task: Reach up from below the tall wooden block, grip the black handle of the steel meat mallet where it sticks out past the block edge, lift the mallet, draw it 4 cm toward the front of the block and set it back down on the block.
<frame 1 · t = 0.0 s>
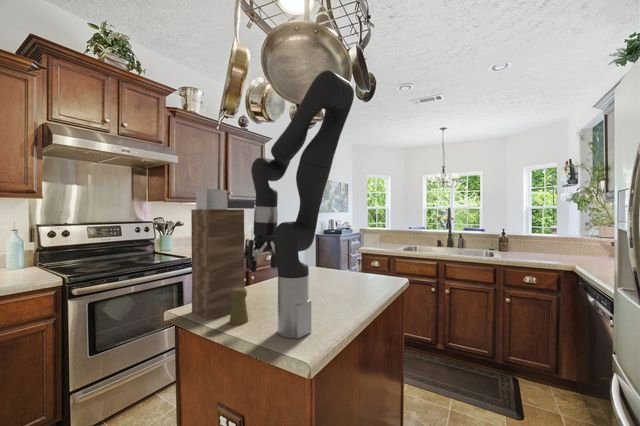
hand: (263, 269, 97), 17 cm above the counter, tool pointing down, fingers open, 8 cm apart
meat mallet: (211, 209, 106), point 37 cm above the counter, touching tall wooden block
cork: (239, 322, 97), on the counter
tall wooden block: (218, 310, 108), on the counter
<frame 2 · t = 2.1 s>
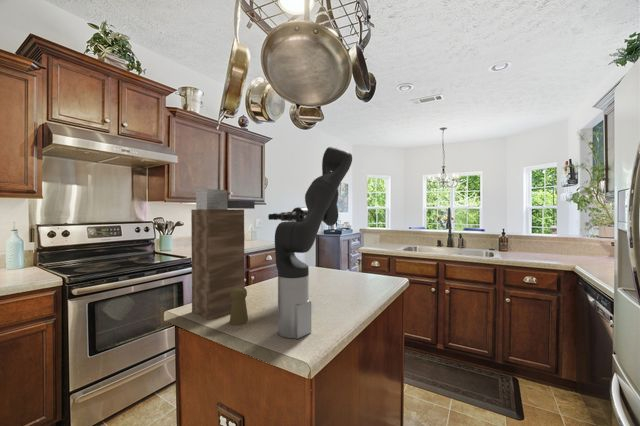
hand: (276, 217, 113), 34 cm above the counter, tool horizontal, fingers open, 8 cm apart
nothing on the counter moved.
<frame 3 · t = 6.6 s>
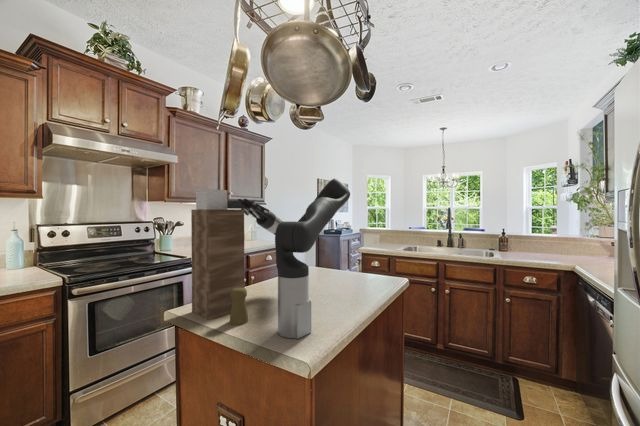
hand: (240, 200, 116), 40 cm above the counter, tool pointing upward, fingers closed on meat mallet, 3 cm apart
meat mallet: (211, 209, 106), point 37 cm above the counter, touching gripper, tall wooden block
everything else where it was.
when the fingers open (41 cm above the counter, at t = 10.0 s): meat mallet stays where it is, resting on tall wooden block.
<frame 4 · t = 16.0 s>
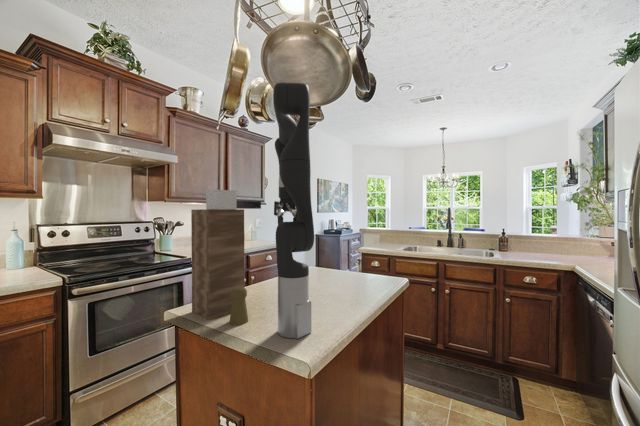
hand: (288, 226, 121), 30 cm above the counter, tool pointing down, fingers open, 8 cm apart
meat mallet: (221, 209, 109), point 37 cm above the counter, touching tall wooden block
everything else where it was.
at the end: meat mallet inside the target area (1.4 cm from its centre), point 37.0 cm above the counter; meat mallet tilted 0°; the gripper is holding nothing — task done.
